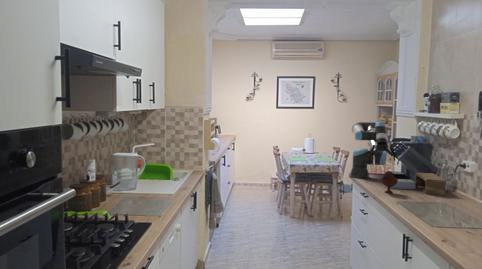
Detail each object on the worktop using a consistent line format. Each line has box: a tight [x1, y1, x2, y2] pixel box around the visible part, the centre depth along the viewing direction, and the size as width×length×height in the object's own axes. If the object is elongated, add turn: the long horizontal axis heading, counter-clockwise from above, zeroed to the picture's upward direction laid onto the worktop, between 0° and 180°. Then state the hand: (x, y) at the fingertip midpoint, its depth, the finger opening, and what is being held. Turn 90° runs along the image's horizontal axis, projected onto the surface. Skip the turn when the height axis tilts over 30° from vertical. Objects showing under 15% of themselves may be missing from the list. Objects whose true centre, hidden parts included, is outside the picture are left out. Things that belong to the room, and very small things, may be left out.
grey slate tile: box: [390, 178, 416, 190], centre depth 272 cm, size 10×18×5 cm, turn 80°
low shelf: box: [414, 172, 447, 196], centre depth 263 cm, size 26×12×10 cm, turn 170°
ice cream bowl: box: [380, 170, 398, 195], centre depth 254 cm, size 11×11×15 cm
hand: (383, 164), depth 280 cm, fingers open, 13 cm apart
